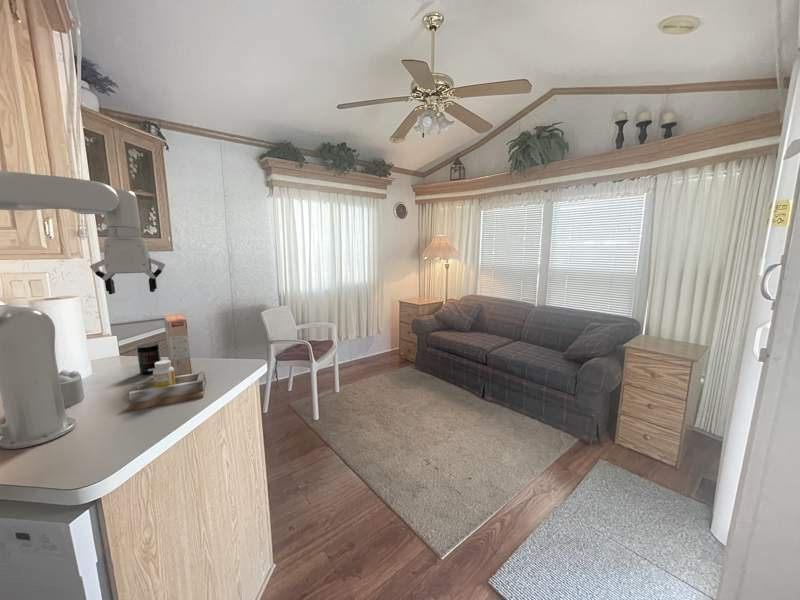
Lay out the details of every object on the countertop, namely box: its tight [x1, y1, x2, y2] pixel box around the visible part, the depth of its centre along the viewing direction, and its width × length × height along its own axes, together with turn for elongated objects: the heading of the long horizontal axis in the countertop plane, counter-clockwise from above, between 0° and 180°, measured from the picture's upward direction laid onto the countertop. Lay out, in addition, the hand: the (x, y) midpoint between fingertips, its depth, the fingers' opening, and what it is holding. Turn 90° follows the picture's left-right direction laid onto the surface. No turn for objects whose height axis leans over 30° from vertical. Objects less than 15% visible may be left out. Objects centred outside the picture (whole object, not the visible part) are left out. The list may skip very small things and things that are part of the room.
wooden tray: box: [127, 371, 207, 412], centre depth 101 cm, size 18×14×4 cm
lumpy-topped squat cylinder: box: [58, 369, 85, 408], centre depth 98 cm, size 10×13×9 cm
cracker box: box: [163, 314, 193, 376], centre depth 120 cm, size 14×6×21 cm, turn 40°
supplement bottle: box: [152, 359, 176, 388], centre depth 100 cm, size 5×5×10 cm
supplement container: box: [135, 342, 162, 376], centre depth 121 cm, size 7×7×10 cm
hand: (132, 292), depth 97 cm, fingers open, 9 cm apart
